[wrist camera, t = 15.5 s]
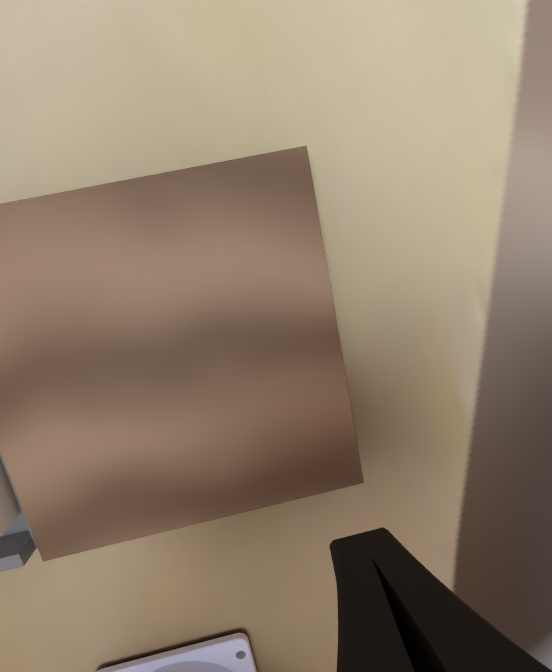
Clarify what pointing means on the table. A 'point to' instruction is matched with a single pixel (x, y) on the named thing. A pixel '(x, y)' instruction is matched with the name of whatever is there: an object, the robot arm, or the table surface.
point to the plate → (169, 352)
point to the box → (16, 539)
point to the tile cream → (7, 501)
